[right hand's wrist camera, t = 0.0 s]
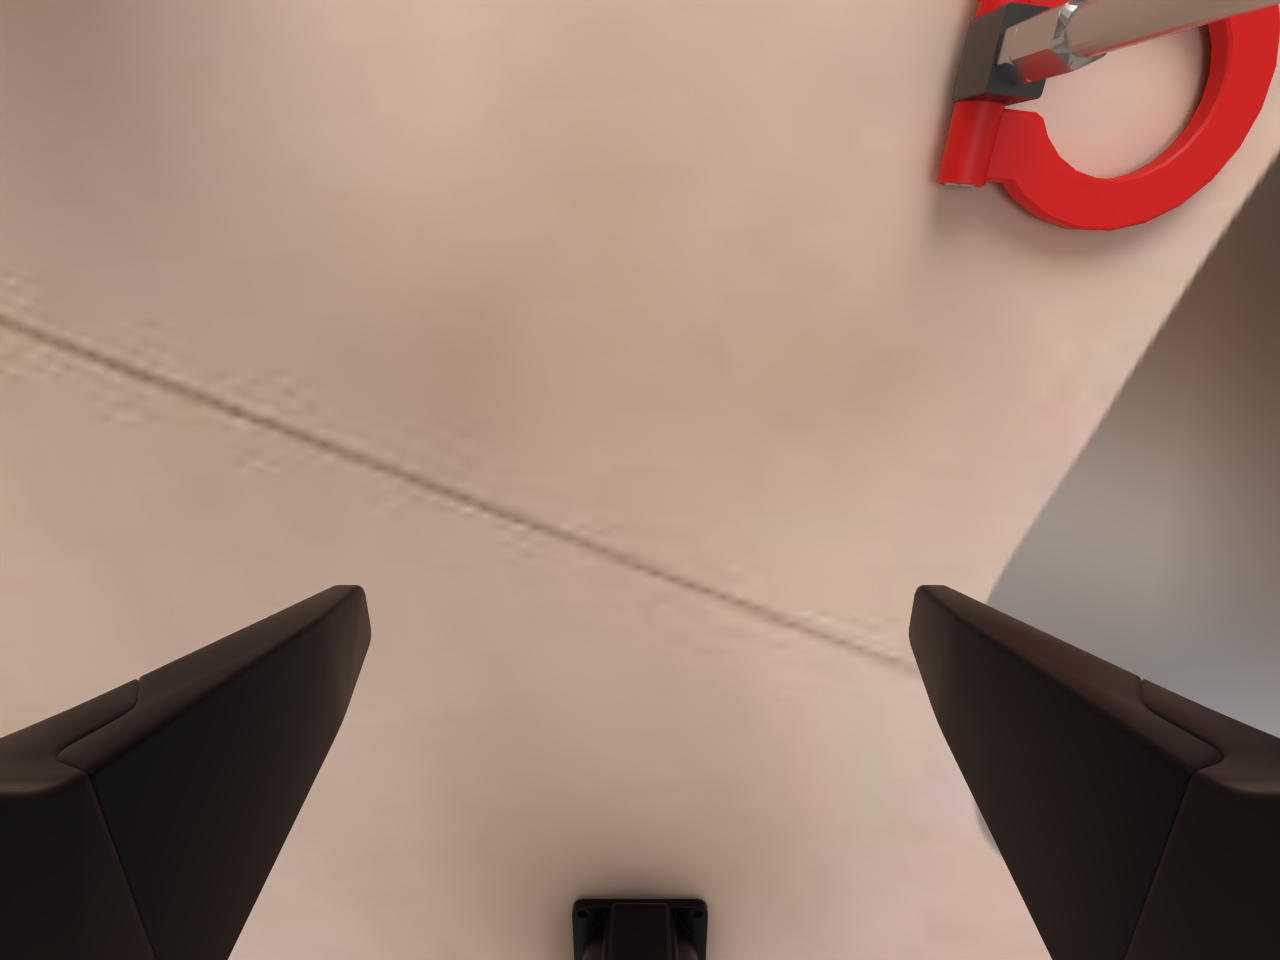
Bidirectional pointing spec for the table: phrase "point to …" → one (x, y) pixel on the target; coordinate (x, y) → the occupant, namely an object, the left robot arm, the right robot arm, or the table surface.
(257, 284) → the table surface
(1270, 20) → the tow hook
